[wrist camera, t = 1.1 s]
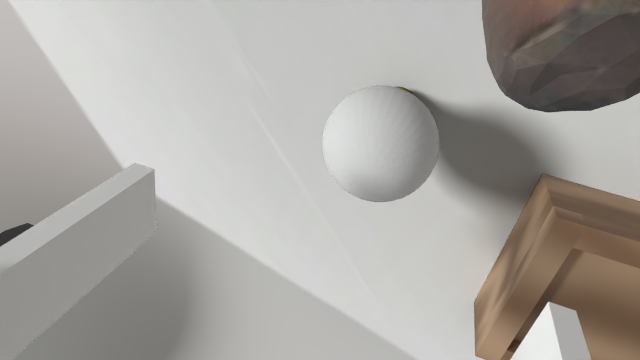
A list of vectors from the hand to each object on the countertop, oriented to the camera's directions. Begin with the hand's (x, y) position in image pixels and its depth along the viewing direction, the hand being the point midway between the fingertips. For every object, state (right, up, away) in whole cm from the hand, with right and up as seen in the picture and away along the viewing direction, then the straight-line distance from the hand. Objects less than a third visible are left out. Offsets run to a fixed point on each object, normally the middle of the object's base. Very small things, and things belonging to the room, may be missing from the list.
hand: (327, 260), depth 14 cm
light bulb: (+5, +8, +14) cm, 17 cm away
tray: (+19, -4, +15) cm, 24 cm away
